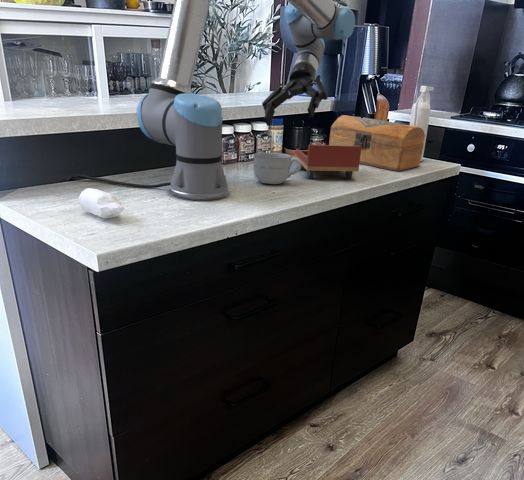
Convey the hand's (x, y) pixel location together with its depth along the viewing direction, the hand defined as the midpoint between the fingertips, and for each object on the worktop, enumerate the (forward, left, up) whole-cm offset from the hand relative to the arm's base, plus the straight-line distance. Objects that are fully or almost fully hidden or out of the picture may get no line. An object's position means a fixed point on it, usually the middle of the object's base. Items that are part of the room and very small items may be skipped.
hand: (287, 118), depth 151 cm
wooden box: (+37, +27, -17) cm, 49 cm away
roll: (-49, -41, -17) cm, 66 cm away
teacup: (-4, -7, -17) cm, 19 cm away
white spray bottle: (+54, +31, -17) cm, 65 cm away
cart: (+14, +6, -17) cm, 23 cm away
